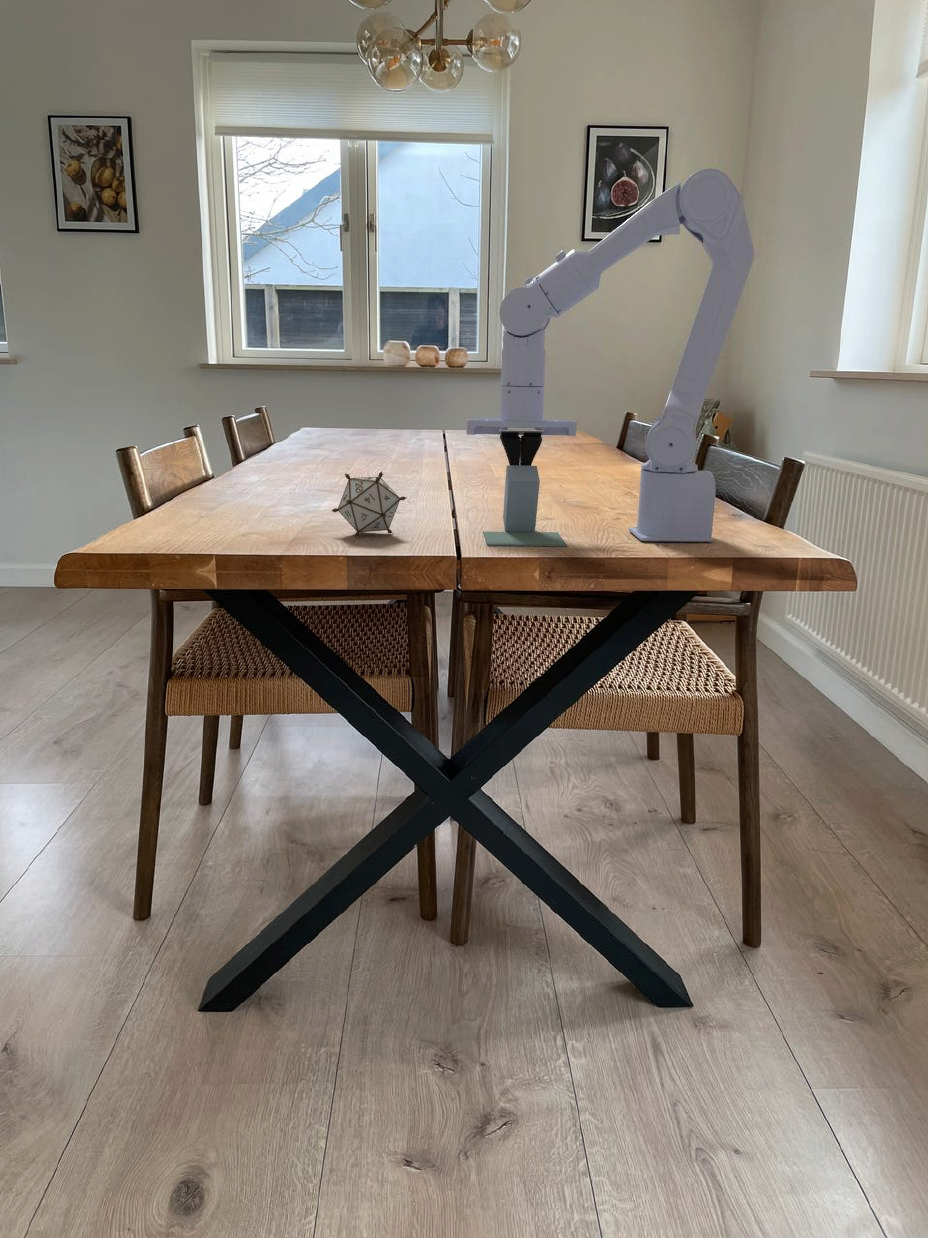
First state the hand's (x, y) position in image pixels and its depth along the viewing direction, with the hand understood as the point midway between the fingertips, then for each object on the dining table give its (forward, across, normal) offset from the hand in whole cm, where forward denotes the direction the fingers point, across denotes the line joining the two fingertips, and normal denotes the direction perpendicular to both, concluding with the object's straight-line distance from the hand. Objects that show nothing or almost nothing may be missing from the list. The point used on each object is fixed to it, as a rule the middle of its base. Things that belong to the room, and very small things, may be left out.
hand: (519, 489), depth 128 cm
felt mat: (+5, 0, +8) cm, 9 cm away
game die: (+6, +20, +5) cm, 21 cm away
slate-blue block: (+5, 0, +1) cm, 5 cm away
